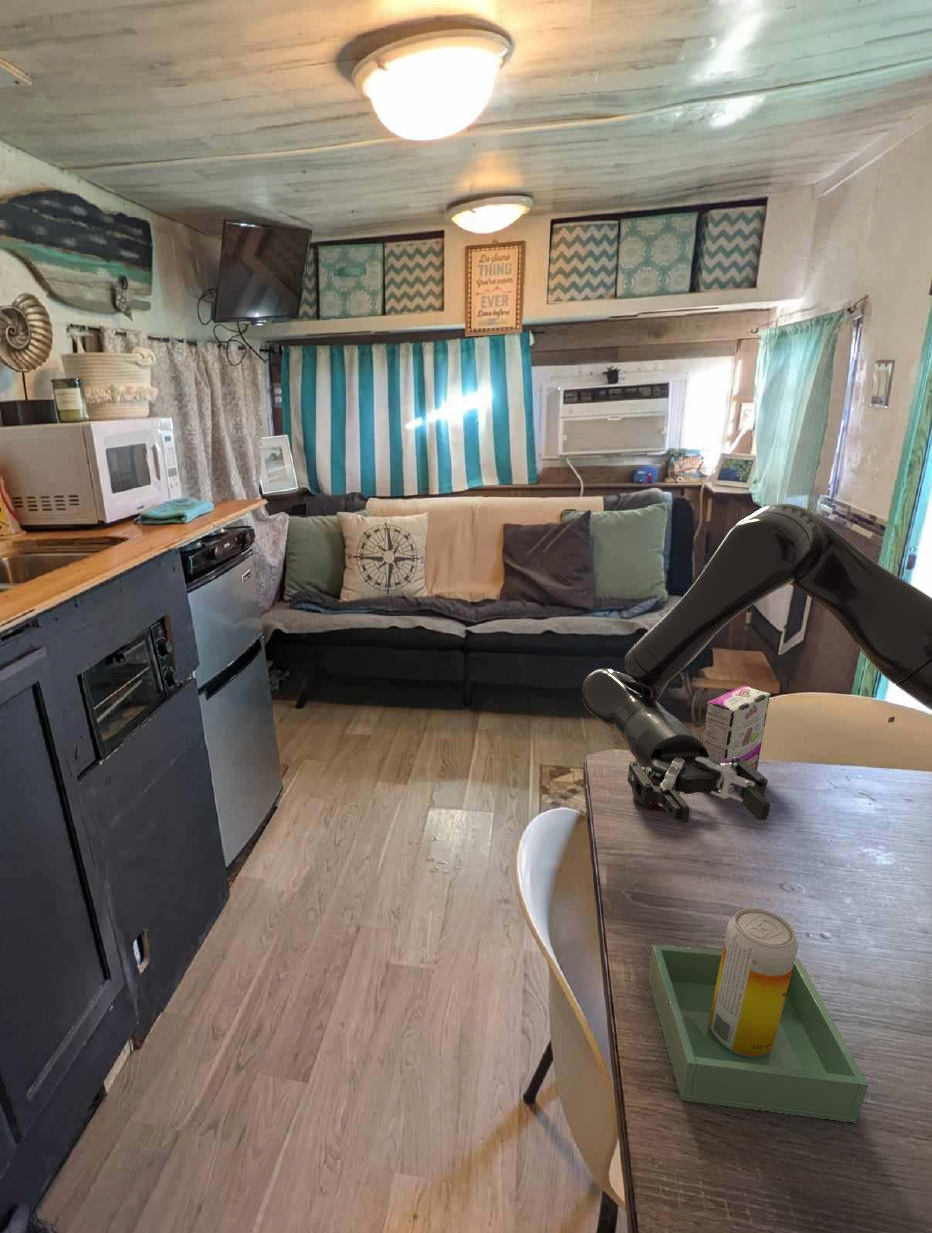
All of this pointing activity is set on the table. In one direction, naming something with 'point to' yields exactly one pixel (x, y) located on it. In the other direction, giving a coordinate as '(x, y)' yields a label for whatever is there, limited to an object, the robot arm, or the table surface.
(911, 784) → the table surface
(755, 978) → the beer can
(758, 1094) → the green serving tray
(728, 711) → the candy bar box
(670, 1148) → the table surface
